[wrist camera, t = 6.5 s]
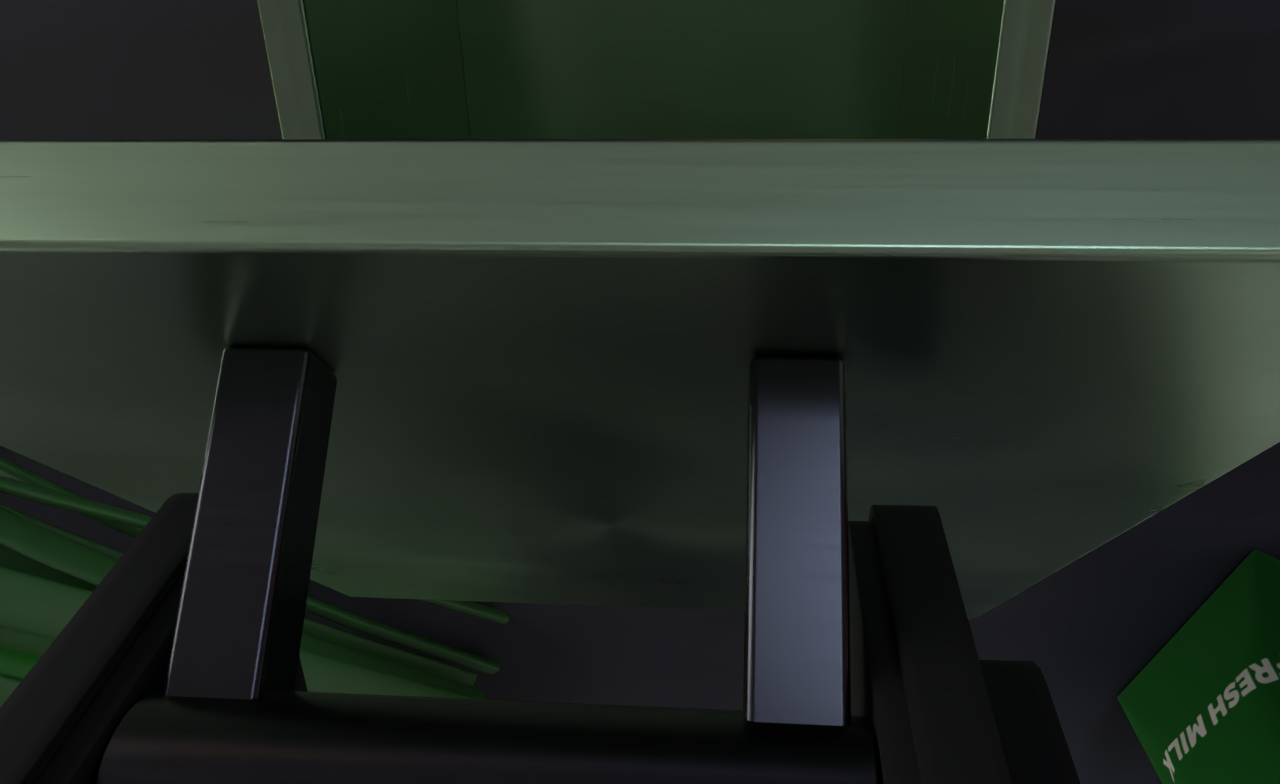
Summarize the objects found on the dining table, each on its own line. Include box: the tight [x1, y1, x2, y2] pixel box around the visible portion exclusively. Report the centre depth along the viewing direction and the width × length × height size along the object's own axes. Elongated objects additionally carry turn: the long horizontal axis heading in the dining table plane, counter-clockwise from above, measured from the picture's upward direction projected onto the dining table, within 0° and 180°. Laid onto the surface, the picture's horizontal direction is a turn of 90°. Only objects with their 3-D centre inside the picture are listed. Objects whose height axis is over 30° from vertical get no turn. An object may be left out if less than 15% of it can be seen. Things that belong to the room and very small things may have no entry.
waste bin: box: [257, 0, 1056, 139], centre depth 24 cm, size 16×13×11 cm
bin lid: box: [0, 138, 1280, 784], centre depth 14 cm, size 16×13×5 cm
